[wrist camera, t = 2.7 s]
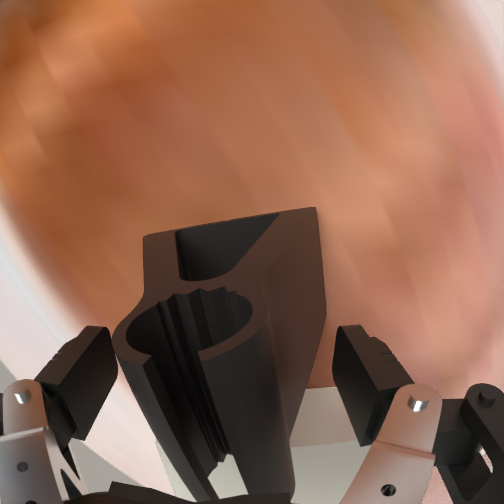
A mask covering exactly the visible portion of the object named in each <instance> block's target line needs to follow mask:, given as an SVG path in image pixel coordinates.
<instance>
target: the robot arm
mask: <svg viewBox="0 0 504 504" xmlns="http://www.w3.org/2000/svg"><path fill="white" fill-rule="evenodd" d="M332 373H333V379H334V382H335V384H336V387H337V389H338V392H339V394H340V397H341V399H342V402H343V404H344V407H345V409H346V412H347V414H348V417H349V419H350V422H351V425H352V427H353V430H354V432H355V435H356V437H357V440H358V443H359V445H360V447H363V446H368V445H371V447H370V449H369V451H368V453H367V455H366V457H365V459H364V461H363V463H362V465H361V467H360V469H359V470H358V472H357V474H356V476H355V478H354V479H353V481H352V483H351V485H350V486H349V488H348V490H347V491H346V493H345V495H344V496H343V498H342V500H341V501H340V503H339V504H422V501H423V498H424V495H425V492H426V489H427V486H428V483H429V479H430V476H431V472H432V469H433V466H437V468H438V470H439V473H440V475H441V477H442V479H443V481H444V483H445V486H446V488H447V490H448V492H449V495H450V497H451V499H452V501H453V504H504V393H503V392H502V391H501V390H500V389H498V388H497V387H495V386H493V385H490V384H485V383H480V384H475V385H473V386H471V387H470V388H469V389H468V391H467V393H466V395H465V397H464V399H442V398H441V396H440V394H439V393H438V392H437V391H436V390H434V389H433V388H431V387H429V386H426V385H422V384H415V383H414V382H413V380H412V379H411V377H410V376H409V375H408V373H407V372H406V371H405V369H404V368H403V366H402V365H401V364H400V362H399V361H397V358H396V357H395V356H394V354H392V352H391V350H390V349H389V348H388V346H387V345H386V344H385V343H384V342H382V341H380V340H379V339H377V338H376V337H369V336H368V335H367V333H366V332H365V330H364V329H363V327H362V326H361V325H349V326H339V327H338V329H337V334H336V342H335V349H334V356H333V364H332ZM117 375H118V364H117V360H116V356H115V352H114V349H113V347H112V340H111V336H110V332H109V330H108V328H107V327H99V326H86V327H85V328H84V329H83V330H82V332H81V333H80V334H79V335H78V336H77V337H76V338H74V339H72V340H70V341H69V342H67V343H65V344H64V345H63V346H62V347H61V349H60V350H59V351H58V354H57V353H56V354H55V355H54V357H53V358H52V360H50V361H49V362H48V363H47V365H46V366H45V367H44V368H43V369H42V370H41V372H40V373H39V374H38V375H37V376H36V378H35V379H34V380H30V379H24V380H19V381H16V382H14V383H12V384H11V385H9V386H8V387H7V389H5V391H4V393H0V499H1V504H295V503H291V501H290V494H289V492H285V493H271V494H243V495H238V496H233V497H228V498H222V499H216V500H210V501H203V502H192V501H188V500H185V499H182V498H179V497H175V496H172V495H169V494H166V493H163V492H161V491H158V490H155V489H152V488H146V487H140V486H134V485H129V484H124V483H119V482H114V481H112V483H111V486H110V489H109V492H95V493H89V491H88V490H87V487H86V485H85V483H84V480H83V478H82V475H81V472H80V470H79V467H78V464H77V462H76V459H75V456H74V453H73V450H72V448H71V446H70V444H69V441H70V440H71V438H75V439H79V440H83V441H85V439H86V437H87V435H88V433H89V431H90V429H91V427H92V425H93V423H94V421H95V419H96V417H97V415H98V413H99V411H100V409H101V408H102V406H103V404H104V402H105V400H106V398H107V396H108V394H109V392H110V390H111V388H112V387H113V385H114V383H115V381H116V379H117ZM481 447H483V449H484V451H485V452H486V454H487V456H488V457H489V459H490V460H491V462H492V466H493V471H492V473H491V471H490V469H489V467H488V466H487V464H486V462H485V461H484V459H483V457H482V456H481V454H480V452H479V450H480V448H481Z"/></svg>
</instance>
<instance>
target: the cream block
mask: <svg viewBox="0 0 504 504" xmlns="http://www.w3.org/2000/svg"><path fill="white" fill-rule="evenodd" d="M289 442H290V449H291V455H292V462H293V469H294V475H295V492H294V495H293V497H292V499H291V503H295V504H339V503H340V501H341V500H342V498H343V496H344V495H345V493H346V491H347V490H348V488H349V486H350V485H351V483H352V481H353V479H354V478H355V476H356V474H357V472H358V470H359V469H360V467H361V465H362V463H363V461H364V459H365V457H366V455H367V453H368V451H369V449H370V447H371V445H368V446H363V447H360V445H359V443H358V440H357V437H356V435H355V432H354V430H353V427H352V425H351V422H350V419H349V417H348V414H347V412H346V409H345V407H344V404H343V402H342V399H341V397H340V394H339V392H338V389H337V387H325V388H311V389H306V390H305V393H304V396H303V400H302V403H301V406H300V409H299V412H298V415H297V418H296V421H295V424H294V427H293V430H292V433H291V436H290V440H289ZM155 443H156V446H157V449H158V452H159V455H160V457H161V460H162V463H163V466H164V468H165V471H166V473H167V476H168V479H169V481H170V484H171V486H172V489H173V491H174V493H175V496H176V497H179V498H182V499H185V500H188V501H192V502H197V501H196V500H195V499H194V497H193V496H192V494H191V493H190V491H189V490H188V488H187V487H186V486H185V484H184V483H183V481H182V479H181V478H180V476H179V475H178V473H177V472H176V470H175V469H174V467H173V465H172V464H171V462H170V460H169V459H168V457H167V456H166V454H165V452H164V450H163V449H162V447H161V445H160V444H159V442H158V440H157V439H156V442H155ZM208 479H209V481H210V483H211V485H212V486H213V488H214V490H215V492H216V493H217V495H218V497H219V499H222V498H228V497H233V496H238V495H243V494H248V492H247V490H246V487H245V485H244V482H243V480H242V477H241V475H240V472H239V470H238V467H237V465H236V462H235V460H234V457H233V456H232V455H229V454H227V456H226V458H225V460H224V462H218V466H217V467H216V468H215V469H214V470H213V471H212V472H211V474H210V475H209V476H208Z"/></svg>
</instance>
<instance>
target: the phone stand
mask: <svg viewBox="0 0 504 504" xmlns="http://www.w3.org/2000/svg"><path fill="white" fill-rule="evenodd" d="M143 270H144V294H143V296H142V298H141V300H140V302H139V303H138V305H137V306H136V307H135V308H134V309H133V310H132V312H131V313H130V314H129V315H127V316H126V317H125V318H124V319H123V320H122V321H121V322H120V323H119V325H118V326H117V327H116V329H115V331H114V333H113V335H112V347H113V349H114V352H115V354H116V356H117V359H118V361H119V363H120V366H121V368H122V370H123V373H124V375H125V377H126V379H127V381H128V384H129V386H130V388H131V390H132V392H133V394H134V396H135V398H136V400H137V402H138V404H139V406H140V408H141V410H142V412H143V414H144V416H145V418H146V420H147V422H148V424H149V426H150V427H151V429H152V431H153V433H154V435H155V437H156V438H157V440H158V442H159V444H160V445H161V447H162V449H163V450H164V452H165V454H166V456H167V457H168V459H169V460H170V462H171V464H172V465H173V467H174V469H175V470H176V472H177V473H178V475H179V476H180V478H181V479H182V481H183V483H184V484H185V486H186V487H187V488H188V490H189V491H190V493H191V494H192V496H193V497H194V499H195V500H196V501H197V502H203V501H210V500H216V499H219V497H218V495H217V493H216V492H215V490H214V488H213V486H212V485H211V483H210V481H209V479H208V476H209V475H210V474H211V472H212V471H213V470H214V469H215V468H216V467H217V466H218V462H224V460H225V458H226V456H227V454H229V455H232V456H233V457H234V460H235V462H236V465H237V467H238V470H239V472H240V475H241V477H242V480H243V482H244V485H245V487H246V490H247V492H248V494H271V493H285V492H289V494H290V501H291V499H292V497H293V495H294V492H295V475H294V469H293V462H292V455H291V449H290V442H289V440H290V436H291V433H292V430H293V427H294V424H295V421H296V418H297V415H298V412H299V409H300V406H301V403H302V400H303V396H304V393H305V390H306V387H307V383H308V380H309V377H310V373H311V370H312V366H313V363H314V359H315V356H316V352H317V349H318V345H319V341H320V338H321V334H322V330H323V326H324V322H325V318H326V302H325V289H324V278H323V267H322V257H321V248H320V238H319V230H318V221H317V213H316V207H308V208H301V209H294V210H288V211H281V212H275V213H268V214H262V215H256V216H250V217H244V218H238V219H232V220H229V221H220V222H214V223H208V224H203V225H197V226H192V227H186V228H181V229H175V230H170V231H165V232H159V233H154V234H149V235H146V236H144V237H143Z"/></svg>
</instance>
